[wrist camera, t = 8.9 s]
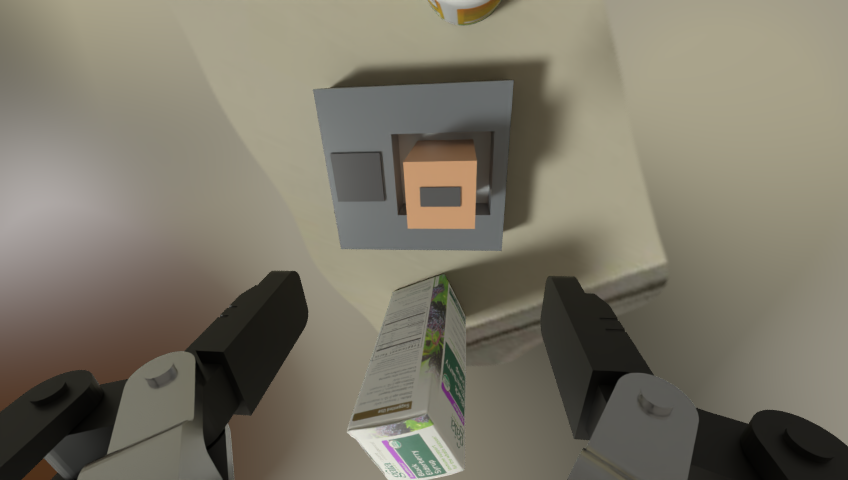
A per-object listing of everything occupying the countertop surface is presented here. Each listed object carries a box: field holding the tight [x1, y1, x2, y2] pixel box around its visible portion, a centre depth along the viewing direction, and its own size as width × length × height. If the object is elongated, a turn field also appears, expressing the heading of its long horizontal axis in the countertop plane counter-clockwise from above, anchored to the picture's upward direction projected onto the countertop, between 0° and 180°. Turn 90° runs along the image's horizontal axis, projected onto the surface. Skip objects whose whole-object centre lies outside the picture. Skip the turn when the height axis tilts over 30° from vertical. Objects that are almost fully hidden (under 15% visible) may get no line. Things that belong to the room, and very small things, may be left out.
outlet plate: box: [313, 80, 514, 251], centre depth 25 cm, size 12×13×3 cm
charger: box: [403, 139, 477, 229], centre depth 23 cm, size 4×4×7 cm
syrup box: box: [347, 274, 466, 480], centre depth 26 cm, size 6×6×14 cm
